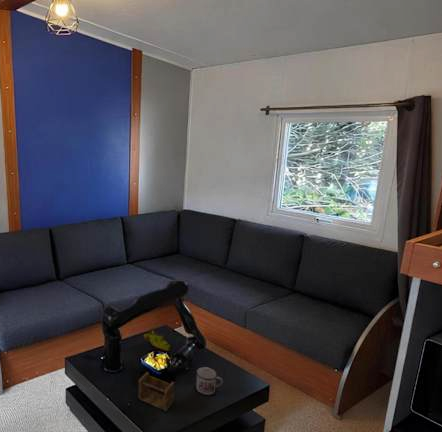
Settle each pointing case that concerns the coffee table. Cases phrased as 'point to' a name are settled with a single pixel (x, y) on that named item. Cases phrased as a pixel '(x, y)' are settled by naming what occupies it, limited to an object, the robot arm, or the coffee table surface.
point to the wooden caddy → (153, 396)
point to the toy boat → (157, 341)
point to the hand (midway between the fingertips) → (169, 372)
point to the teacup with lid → (207, 381)
